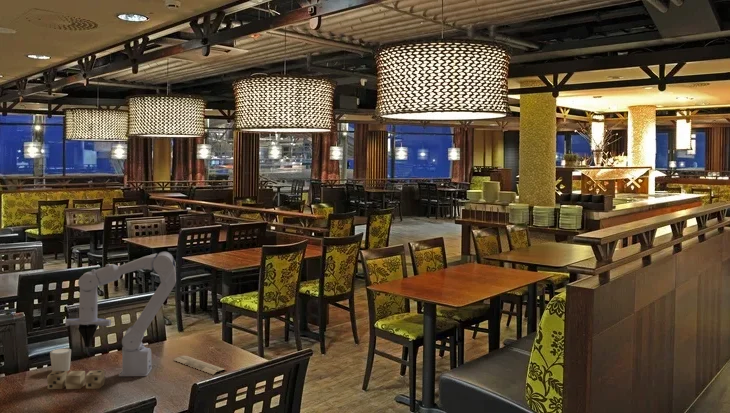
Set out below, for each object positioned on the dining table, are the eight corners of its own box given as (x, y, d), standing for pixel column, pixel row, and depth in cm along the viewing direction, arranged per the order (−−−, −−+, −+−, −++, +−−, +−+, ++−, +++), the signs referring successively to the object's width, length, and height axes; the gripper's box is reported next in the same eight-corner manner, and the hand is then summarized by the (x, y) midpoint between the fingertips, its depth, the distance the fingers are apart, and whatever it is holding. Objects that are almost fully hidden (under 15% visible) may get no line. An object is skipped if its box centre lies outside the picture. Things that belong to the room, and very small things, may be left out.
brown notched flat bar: (227, 373, 222) (227, 368, 221) (210, 378, 216) (210, 373, 216) (187, 358, 236) (187, 354, 236) (171, 363, 231) (171, 358, 230)
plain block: (85, 384, 207) (85, 370, 206) (80, 389, 202) (80, 375, 202) (71, 384, 206) (71, 371, 206) (66, 389, 202) (65, 375, 201)
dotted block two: (104, 383, 207) (104, 370, 207) (100, 388, 203) (99, 374, 203) (90, 383, 207) (90, 370, 207) (85, 388, 202) (85, 375, 202)
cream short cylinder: (63, 374, 215) (62, 354, 215) (45, 372, 217) (45, 352, 216) (75, 367, 222) (75, 348, 221) (59, 366, 223) (58, 347, 223)
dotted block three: (67, 384, 206) (67, 370, 206) (61, 389, 202) (61, 375, 201) (53, 384, 206) (52, 370, 206) (47, 389, 201) (47, 375, 201)
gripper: (61, 309, 208) (61, 349, 209) (106, 310, 209) (106, 349, 210) (69, 304, 215) (69, 343, 216) (113, 305, 216) (112, 343, 217)
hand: (88, 346), depth 214 cm, fingers closed
